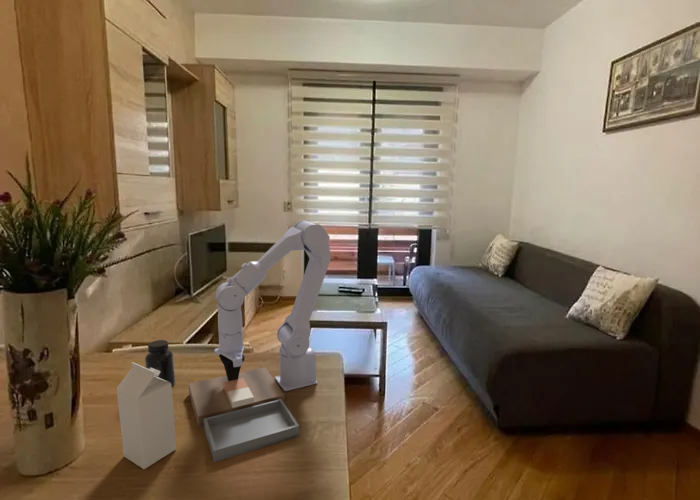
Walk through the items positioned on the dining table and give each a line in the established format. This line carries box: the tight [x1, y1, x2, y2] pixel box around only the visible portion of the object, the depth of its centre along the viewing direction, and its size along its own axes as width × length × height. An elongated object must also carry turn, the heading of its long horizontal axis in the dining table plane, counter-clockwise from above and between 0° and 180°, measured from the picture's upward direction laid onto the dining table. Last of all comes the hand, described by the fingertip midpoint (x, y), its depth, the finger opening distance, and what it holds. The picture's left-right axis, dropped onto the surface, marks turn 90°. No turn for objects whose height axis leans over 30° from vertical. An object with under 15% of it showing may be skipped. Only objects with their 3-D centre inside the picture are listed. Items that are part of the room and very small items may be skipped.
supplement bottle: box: [144, 339, 176, 387], centre depth 109 cm, size 7×7×12 cm
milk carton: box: [116, 361, 177, 470], centre depth 82 cm, size 7×7×19 cm
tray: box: [203, 399, 301, 463], centre depth 91 cm, size 18×12×2 cm, turn 118°
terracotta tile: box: [223, 378, 248, 397], centre depth 103 cm, size 5×5×2 cm
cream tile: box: [228, 387, 254, 408], centre depth 98 cm, size 5×5×2 cm
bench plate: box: [188, 366, 286, 429], centre depth 104 cm, size 20×16×3 cm
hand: (232, 381), depth 106 cm, fingers closed
